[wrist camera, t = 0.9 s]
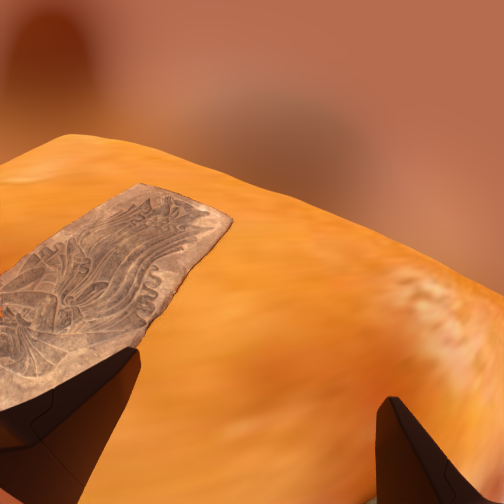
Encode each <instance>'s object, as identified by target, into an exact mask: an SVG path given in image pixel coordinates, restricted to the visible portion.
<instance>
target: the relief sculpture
mask: <svg viewBox="0 0 504 504" xmlns="http://www.w3.org/2000/svg"><path fill="white" fill-rule="evenodd" d="M232 222H233V219H232V218H231V217H229V216H228V215H227V214H225V213H223V212H220V211H219V210H216V209H214V208H212V207H210V206H207V205H205V204H202V203H200V202H197V201H195V200H192V199H190V198H189V197H185V196H182V195H180V194H179V193H175V192H171V191H169V190H166V189H162V188H159V187H155V186H151V185H145V184H142V183H139V184H136V185H135V186H133V187H131V188H130V189H127V190H125V191H123V192H122V193H121V194H119V195H116V196H114V197H113V198H111V199H109V200H108V201H106V202H104V203H102V204H101V205H99V206H98V207H96V208H94V209H93V210H91V211H90V212H88V213H87V214H85V215H84V216H82V217H81V218H79V219H78V220H76V221H74V222H72V223H71V224H69V225H67V226H66V227H64V228H62V229H61V230H60V231H59V232H57V233H55V234H54V235H53V236H51V237H50V238H48V239H47V240H45V241H44V242H42V243H41V244H39V245H38V246H37V247H36V249H34V250H33V251H32V252H30V253H29V254H27V255H25V256H24V257H23V258H22V259H20V260H19V262H18V263H17V264H16V265H15V266H14V267H12V268H11V269H10V270H8V271H5V272H4V273H3V274H2V275H1V276H0V307H1V313H2V314H3V319H2V318H1V317H0V411H2V410H5V409H7V408H10V407H13V406H15V405H18V404H20V403H23V402H25V401H28V400H30V399H32V398H35V397H37V396H39V395H41V394H43V393H44V392H46V391H48V390H50V389H52V388H54V387H56V386H57V385H59V384H61V383H63V382H65V381H67V380H68V379H70V378H72V377H74V376H76V375H77V374H79V373H81V372H83V371H85V370H86V369H88V368H90V367H92V366H93V365H95V364H97V363H99V362H101V361H102V360H104V359H106V358H108V357H109V356H111V355H113V354H115V353H116V352H118V351H120V350H122V349H124V348H125V347H128V346H130V347H133V348H135V347H136V346H137V345H138V343H140V341H141V340H142V338H143V337H144V335H145V331H146V329H147V327H148V325H149V324H150V322H151V321H152V320H153V319H155V318H157V317H158V316H160V314H162V313H163V311H164V310H165V309H166V307H167V305H168V304H169V303H170V302H171V301H172V299H173V294H174V293H175V292H176V290H177V287H178V286H179V285H180V284H181V283H182V281H183V279H184V278H185V276H186V275H187V273H188V272H189V271H190V269H191V268H192V267H193V266H194V265H195V264H196V263H197V262H198V261H199V260H200V259H201V258H202V257H203V256H205V255H206V254H207V253H208V252H209V251H210V250H211V249H212V248H213V247H214V245H215V244H216V242H217V241H218V240H219V239H220V238H221V236H222V235H223V234H224V233H225V232H226V231H227V230H228V229H229V227H230V226H231V224H232Z"/></svg>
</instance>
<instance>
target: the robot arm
mask: <svg viewBox="0 0 504 504" xmlns="http://www.w3.org/2000/svg"><path fill="white" fill-rule="evenodd" d="M140 369H141V360H140V353H139V350H138V349H136V348H133V347H130V346H128V347H125V348H124V349H122V350H120V351H118V352H116V353H115V354H113V355H111V356H109V357H108V358H106V359H104V360H102V361H101V362H99V363H97V364H95V365H93V366H92V367H90V368H88V369H86V370H85V371H83V372H81V373H79V374H77V375H76V376H74V377H72V378H70V379H68V380H67V381H65V382H63V383H61V384H59V385H57V386H56V387H54V388H52V389H50V390H48V391H46V392H44V393H43V394H41V395H39V396H37V397H35V398H32V399H30V400H28V401H25V402H23V403H20V404H18V405H15V406H13V407H10V408H7V409H5V410H2V411H0V504H77V503H78V501H79V499H80V497H81V495H82V493H83V490H84V487H85V486H86V484H87V482H88V480H89V478H90V476H91V474H92V472H93V470H94V468H95V466H96V464H97V462H98V460H99V458H100V456H101V454H102V452H103V450H104V448H105V446H106V444H107V442H108V440H109V438H110V436H111V434H112V432H113V430H114V428H115V426H116V424H117V422H118V420H119V419H120V417H121V415H122V413H123V411H124V409H125V407H126V405H127V403H128V400H129V398H130V395H131V393H132V390H133V387H134V385H135V382H136V380H137V377H138V375H139V372H140ZM375 457H376V489H377V504H502V503H496V502H492V501H489V500H487V499H486V498H484V497H483V496H482V495H481V494H480V493H479V492H478V491H477V490H476V489H475V488H474V487H473V486H472V485H471V484H470V483H469V482H468V481H467V480H466V479H465V478H464V477H463V476H462V475H461V474H460V472H459V471H458V470H457V469H456V468H455V466H454V465H453V464H452V463H451V461H450V460H449V459H448V458H447V456H446V455H445V454H444V453H443V451H442V450H441V449H440V448H439V446H438V445H437V444H436V443H435V441H434V440H433V439H432V438H431V436H430V435H429V434H428V433H427V432H426V430H425V429H424V428H423V427H422V425H421V424H420V423H419V422H418V420H417V419H416V418H415V417H414V416H413V414H412V413H411V412H410V411H409V409H408V408H407V407H406V406H405V405H404V403H403V402H402V401H401V400H400V398H398V397H394V396H389V397H387V398H386V399H385V401H384V402H383V403H382V405H381V406H380V407H379V409H378V411H377V418H376V441H375Z"/></svg>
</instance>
